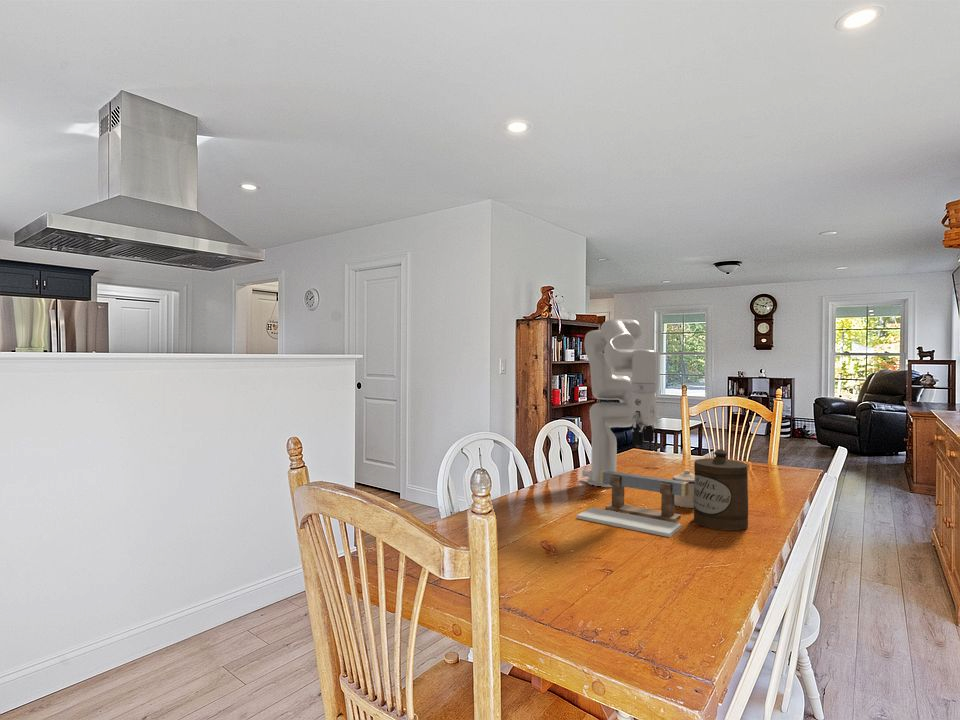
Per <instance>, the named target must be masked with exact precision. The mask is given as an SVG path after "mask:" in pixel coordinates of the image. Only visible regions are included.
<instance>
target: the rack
mask: <svg viewBox="0 0 960 720" xmlns="http://www.w3.org/2000/svg"><path fill="white" fill-rule="evenodd" d="M610 486H612V487H611V503H609V504H607V505H605V508H604V509H608V510H610V511H611V510H613V511H615V512H616V511H618V512H624V513H626V514H627V513H629V514H631V515H632V514H633V515H637V516H642V517H647V518H653V519H658V520H663V521H669V522H674V523H677V521H678V520H680V519H681V517H682V516H681V515H682V514H679V513H675V504H674V495H673V494H671V484H665V483H660V492H659V494H661V505H660V506H661V507H660V508H661V509H660V510H657V509H651V508H645V507H640V506H634V505H629V504H625V487H622V486H620V477H617V476H610Z"/></svg>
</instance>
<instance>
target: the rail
mask: <svg viewBox="0 0 960 720" xmlns="http://www.w3.org/2000/svg"><path fill="white" fill-rule="evenodd" d="M610 476H617V477H620V486H622V487H624V488H630V489H637V490H642V491H643V490H644V491H648V492H655V493H660V483H665V484H671V494H673V495H680V496H686V495H688V494H689V482H684V481H677V480H673V479H669V478H663V477H662V478H661V477H654V476H647V475H642V474H641V475H640V474H635V473H634V474H633V473H625V472H619V471H616V472H614V471H606V470H604V471H601V472H600V483H603V484H610Z"/></svg>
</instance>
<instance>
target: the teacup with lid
mask: <svg viewBox="0 0 960 720" xmlns="http://www.w3.org/2000/svg"><path fill="white" fill-rule="evenodd" d="M672 480H677V481H684V482H689V494H688V495H686V496H680V495H674V506H677V507H679V506H680V508H684V507H685V509H694V480H695V473H692V472H691V470H690V469H684V470H683V472H681V473H679V474H675V475H673V477H672Z"/></svg>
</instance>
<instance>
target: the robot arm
mask: <svg viewBox="0 0 960 720" xmlns="http://www.w3.org/2000/svg"><path fill="white" fill-rule="evenodd" d="M641 336H642V327H641V325H640V323H639V322H638V321H637V320H635V319H628V318H627V319H625V318H623V319H622V318H621V319H620V318H619V319H618V318H617V319H616V318H615V319H614V318H612V319H607V320H606V321H604V322H603V323H602V324H601V326H600V329H595V330H593V329H592V330H590V331H587V333H586V334H585V337H584V342H583V343H584V352H585V354H586V355H585V356H586V358H587V360H588V363H589V369H590V384H591V393H592V396H593V397H594V398H595V399H597V400H618V401H619V402H604V401H601V402H596V403H594V404H592V405H591V406H590V407H589V422H590V426H591V427H590V428H591V431H590V432H591V453H590V455H591V456H590V457H591V464H590V465H591V466H590V467H591V468H590V469H591V470H589V471H588V470H582V473H581V474H582V476H583V477H587V480H586V483H587V484H588V485H590V486H592V485H594V487H597V486H601V487H600V488H612V486H610V484H603V483H600V472H601V471H604V470H606V471H614V472H617V458H618V457H617V455H618V453H617V452H618V450H617V449H618V447H617V446H618V445H617V444H618V443H617V436H616V435H615V433H614V432H613V431H612V430H611V428H629V427H632V429H631V432H632V435H631V436H632V438H631V440H632V441H631V443H632V445H634V446H643V445H644V442H648V443H649V442H651V443H653V442H654V441H655V440H654V439H655V424H656V423H657V421H658V420H657V419H658V418H657V415H658V414H657V399H656V394H657V362H658V361H657V358H658V357H657V352H656V351H655V350H652V349H633V347H634V346H635V345H636V344H637V343H638V342H639V340H640V339H641ZM613 372H615V373H631V378H630V377H629V376H627V375H615V374H614V373H613Z"/></svg>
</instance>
